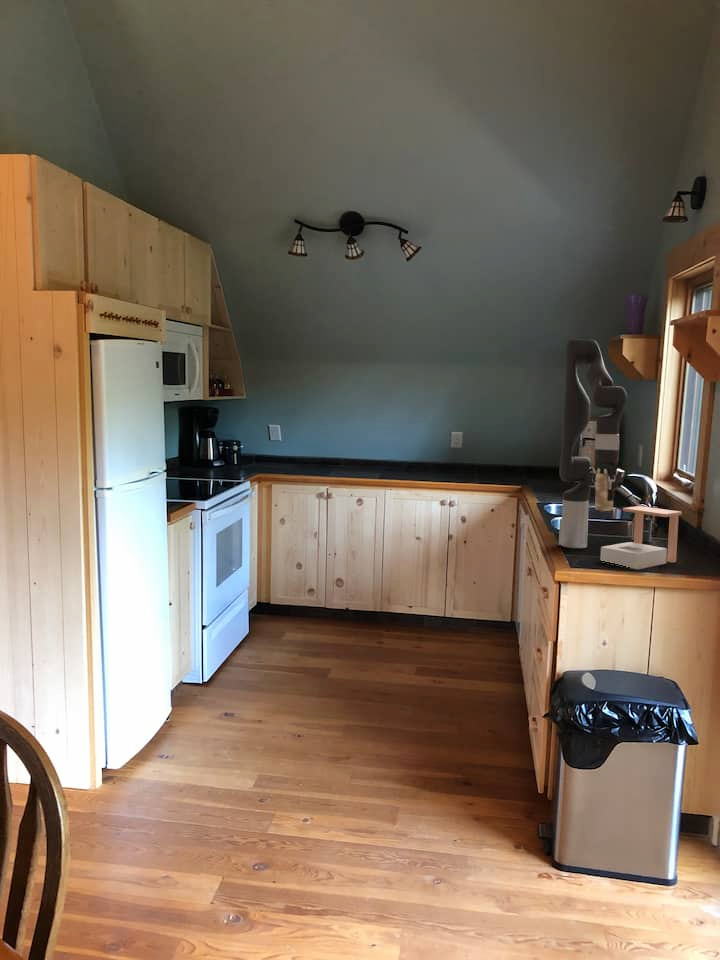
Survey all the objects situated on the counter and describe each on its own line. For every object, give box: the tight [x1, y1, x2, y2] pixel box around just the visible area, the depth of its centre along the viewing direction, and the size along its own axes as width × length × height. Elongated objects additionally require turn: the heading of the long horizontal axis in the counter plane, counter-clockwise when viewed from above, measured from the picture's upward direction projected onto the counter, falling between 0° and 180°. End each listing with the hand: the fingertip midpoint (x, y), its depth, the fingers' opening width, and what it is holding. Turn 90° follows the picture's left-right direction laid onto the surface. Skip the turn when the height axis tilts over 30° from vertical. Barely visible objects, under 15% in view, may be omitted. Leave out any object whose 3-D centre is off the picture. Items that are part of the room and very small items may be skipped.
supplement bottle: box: [631, 514, 653, 543], centre depth 282 cm, size 7×7×12 cm
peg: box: [594, 473, 614, 512], centre depth 241 cm, size 4×4×12 cm
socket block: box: [599, 541, 668, 570], centre depth 245 cm, size 14×16×5 cm
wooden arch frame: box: [622, 505, 683, 563], centre depth 249 cm, size 16×10×17 cm, turn 35°
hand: (604, 499), depth 241 cm, fingers closed on peg, 4 cm apart
